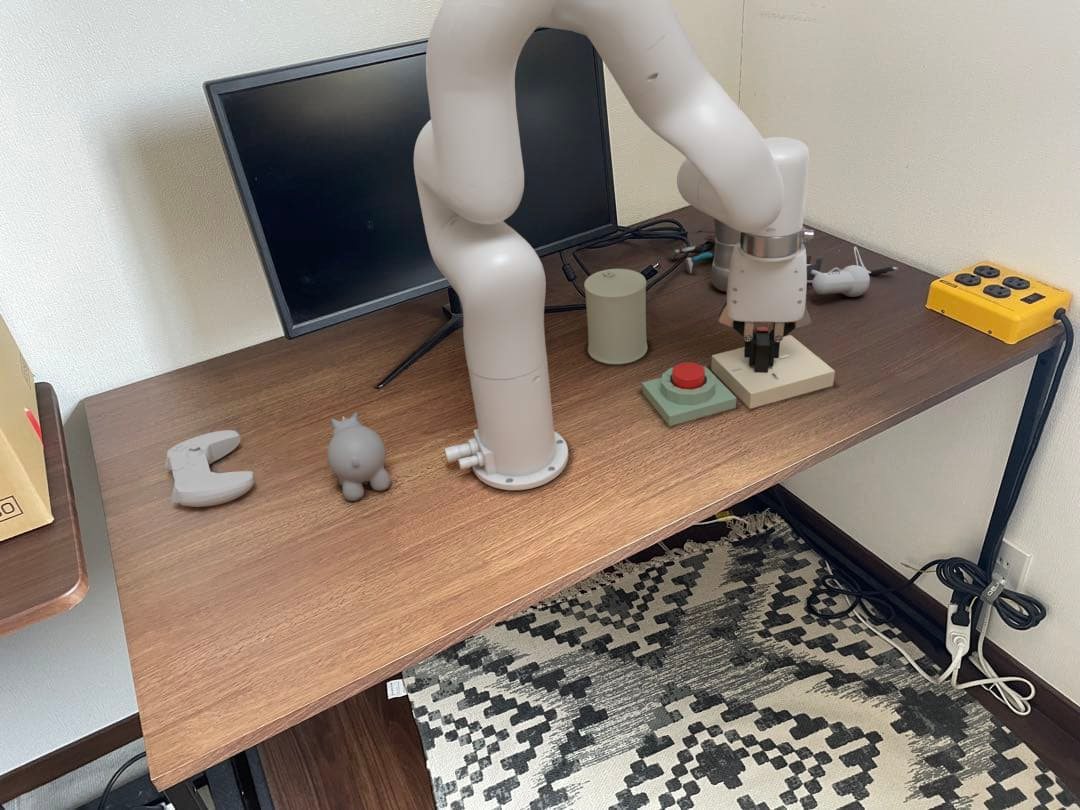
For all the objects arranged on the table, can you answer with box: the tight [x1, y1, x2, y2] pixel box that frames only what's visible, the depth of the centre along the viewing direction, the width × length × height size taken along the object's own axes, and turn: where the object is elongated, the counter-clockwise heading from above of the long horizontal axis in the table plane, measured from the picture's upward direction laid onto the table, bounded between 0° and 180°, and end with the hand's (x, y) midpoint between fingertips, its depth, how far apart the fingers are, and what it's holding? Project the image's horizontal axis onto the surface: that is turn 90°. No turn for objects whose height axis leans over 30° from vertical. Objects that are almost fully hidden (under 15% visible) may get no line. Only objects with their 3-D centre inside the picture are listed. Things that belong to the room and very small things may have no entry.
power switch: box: [641, 365, 738, 427], centre depth 112 cm, size 10×9×4 cm
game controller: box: [164, 429, 255, 508], centre depth 106 cm, size 14×4×10 cm
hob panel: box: [710, 334, 836, 410], centre depth 114 cm, size 13×11×3 cm
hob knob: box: [754, 326, 770, 373], centre depth 113 cm, size 5×2×5 cm, turn 169°
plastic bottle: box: [710, 217, 741, 293], centre depth 133 cm, size 6×7×20 cm
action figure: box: [669, 229, 716, 275], centre depth 147 cm, size 8×6×18 cm
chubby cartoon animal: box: [326, 411, 392, 502], centre depth 103 cm, size 7×12×8 cm, turn 21°
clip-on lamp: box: [806, 246, 899, 298], centre depth 134 cm, size 12×6×18 cm
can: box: [583, 268, 648, 365], centre depth 122 cm, size 9×9×12 cm
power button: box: [672, 361, 705, 389], centre depth 110 cm, size 4×4×2 cm
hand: (760, 360), depth 114 cm, fingers closed on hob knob, 2 cm apart
